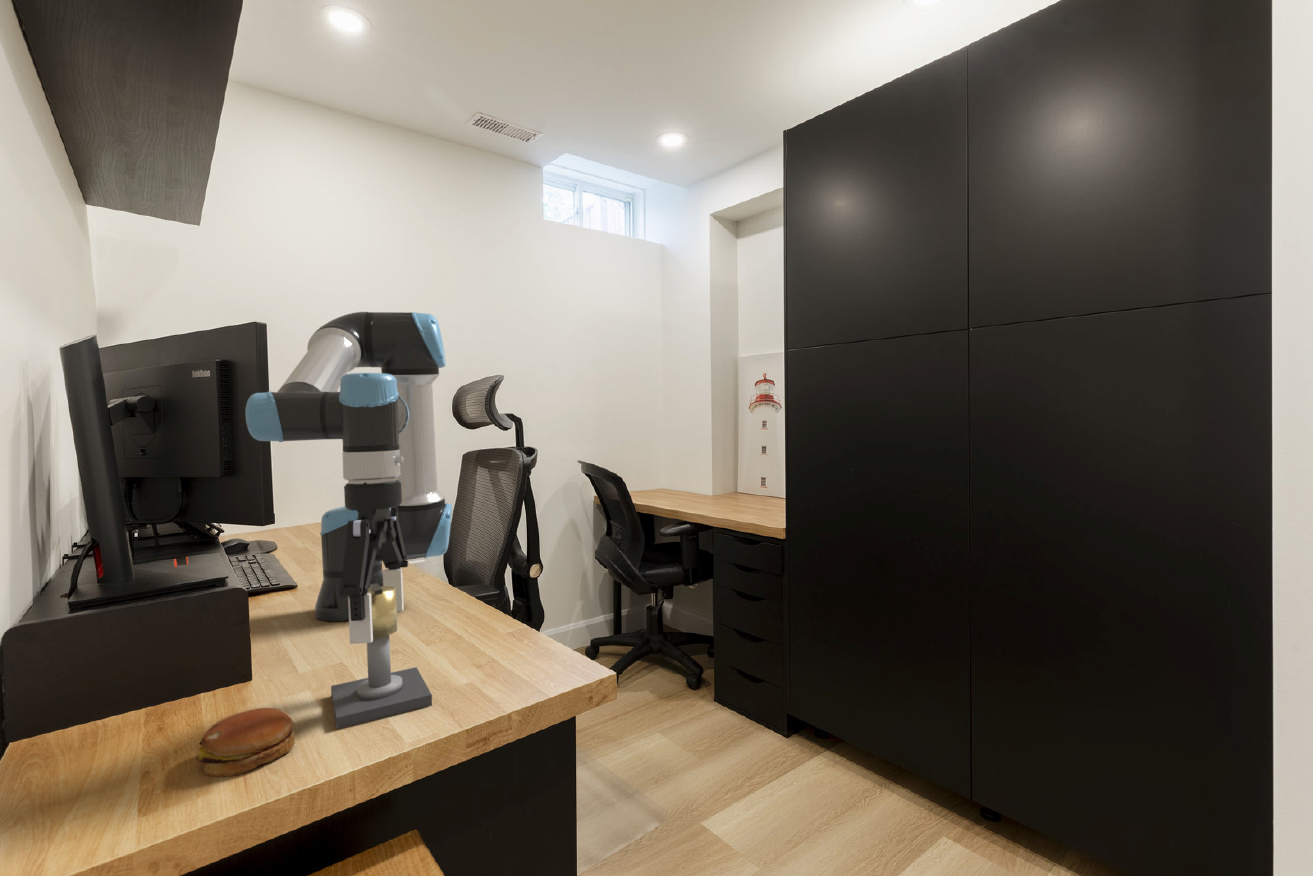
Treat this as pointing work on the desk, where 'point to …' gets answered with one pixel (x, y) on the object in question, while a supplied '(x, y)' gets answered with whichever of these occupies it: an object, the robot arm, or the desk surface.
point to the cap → (383, 610)
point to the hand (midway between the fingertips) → (379, 625)
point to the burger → (245, 741)
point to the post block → (379, 690)
